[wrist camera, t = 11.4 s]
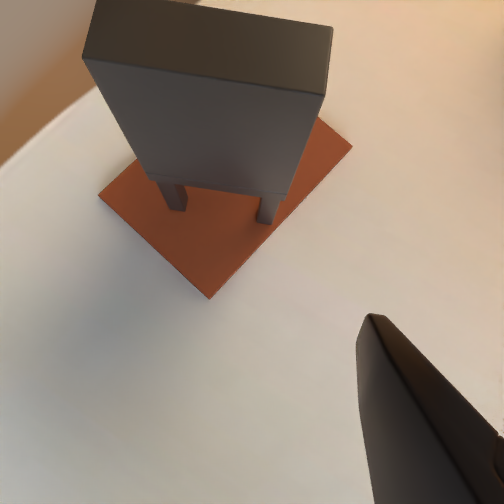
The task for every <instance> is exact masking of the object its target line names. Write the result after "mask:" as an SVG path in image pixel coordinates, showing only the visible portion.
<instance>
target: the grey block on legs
mask: <svg viewBox="0 0 504 504" xmlns="http://www.w3.org/2000/svg"><path fill="white" fill-rule="evenodd" d="M332 37H333V27H330V26H324V25H318V24H311V23H305V22H299V21H293V20H287V19H280V18H274V17H268V16H262V15H256V14H249V13H243V12H237V11H231V10H225V9H218V8H212V7H206V6H200V5H194V4H187V3H181V2H175V1H168V0H97V1H96V4H95V9H94V12H93V16H92V20H91V23H90V27H89V31H88V35H87V38H86V42H85V46H84V50H83V54H82V59H83V61H84V63H85V65H86V66H87V68H88V70H89V72H90V74H91V75H92V77H93V79H94V81H95V83H96V85H97V86H98V88H99V90H100V92H101V94H102V95H103V97H104V99H105V101H106V103H107V104H108V106H109V108H110V110H111V112H112V114H113V115H114V117H115V119H116V121H117V123H118V124H119V126H120V128H121V130H122V132H123V134H124V135H125V137H126V139H127V141H128V143H129V144H130V146H131V148H132V150H133V152H134V154H135V155H136V157H137V159H138V161H139V163H140V164H141V166H142V168H143V170H144V172H145V173H146V175H147V177H148V179H149V180H151V181H155V182H156V184H157V186H158V187H159V189H160V191H161V193H162V195H163V197H164V199H165V201H166V203H167V205H168V207H169V209H170V210H177V211H183V212H185V211H186V206H187V201H188V195H187V192H186V189H185V186H190V187H197V188H203V189H210V190H216V191H222V192H229V193H235V194H242V195H248V196H255V197H260V202H259V207H258V213H257V220H256V222H257V223H262V224H268V225H272V224H273V221H274V218H275V215H276V212H277V209H278V207H279V204H280V201H285V199H286V197H287V194H288V191H289V189H290V186H291V184H292V181H293V178H294V176H295V173H296V171H297V168H298V165H299V163H300V160H301V158H302V155H303V152H304V150H305V147H306V145H307V142H308V139H309V137H310V134H311V132H312V129H313V126H314V124H315V121H316V119H317V116H318V113H319V111H320V108H321V106H322V103H323V100H324V98H325V95H326V87H327V78H328V70H329V62H330V54H331V46H332Z"/></svg>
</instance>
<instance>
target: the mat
mask: <svg viewBox="0 0 504 504" xmlns="http://www.w3.org/2000/svg"><path fill="white" fill-rule="evenodd" d="M351 148H352V145H351V144H350V143H348V142H347V141H346V140H345V139H344V138H342V137H341V136H340V135H339V134H338V133H336V132H335V131H334V130H333V129H332V128H330V127H329V126H328V125H327V124H326V123H325V122H323V121H322V120H321V119H320V118H319V117H317V119H316V121H315V124H314V126H313V129H312V132H311V134H310V137H309V139H308V142H307V145H306V147H305V150H304V152H303V155H302V158H301V160H300V163H299V165H298V168H297V171H296V173H295V176H294V178H293V181H292V184H291V186H290V189H289V191H288V194H287V197H286V199H285V201H280V204H279V207H278V209H277V212H276V215H275V218H274V221H273V224H272V225H268V224H262V223H257V222H256V220H257V213H258V207H259V202H260V197H255V196H248V195H242V194H235V193H229V192H222V191H216V190H210V189H203V188H197V187H190V186H185V189H186V192H187V195H188V201H187V206H186V211H185V212H183V211H177V210H170V209H169V207H168V205H167V203H166V201H165V199H164V197H163V195H162V193H161V191H160V189H159V187H158V186H157V184H156V182H155V181H151V180H149V179H148V177H147V175H146V173H145V172H144V170H143V168H142V166H141V164H140V163H139V161H138V159H136V160H135V161H134V162H133V163H132V164H130V165H129V166H128V167H127V168H126V169H125V170H124V171H123V172H122V173H121V174H120V175H119V176H118V177H117V178H115V179H114V180H113V181H112V182H111V183H110V184H109V185H108V186H107V187H106V188H105V189H104V190H103V191H102V192H101V193H99V194H98V196H99V197H100V198H101V199H102V200H103V201H104V202H105V203H107V204H108V205H109V206H110V207H111V208H112V209H113V210H114V211H115V212H116V213H117V214H118V215H119V216H120V217H122V218H123V219H124V220H125V221H126V222H127V223H128V224H129V225H130V226H131V227H132V228H133V229H134V230H135V231H137V232H138V233H139V234H140V235H141V236H142V237H143V238H144V239H145V240H146V241H147V242H148V243H149V244H150V245H151V246H153V247H154V248H155V249H156V250H157V251H158V252H159V253H160V254H161V255H162V256H163V257H164V258H165V259H166V260H168V261H169V262H170V263H171V264H172V265H173V266H174V267H175V268H176V269H177V270H178V271H179V272H180V273H181V274H183V275H184V276H185V277H186V278H187V279H188V280H189V281H190V282H191V283H192V284H193V285H194V286H195V287H196V288H197V289H199V290H200V291H201V292H202V293H203V294H204V295H205V296H206V297H207V298H208V299H211V297H212V296H213V295H214V294H215V293H216V292H217V291H218V290H219V289H220V288H221V287H222V286H223V285H224V284H225V283H226V281H227V280H228V279H229V278H230V277H231V276H232V275H233V274H234V273H235V272H236V271H237V270H238V269H239V268H240V267H241V265H242V264H243V263H244V262H245V261H246V260H247V259H248V258H249V257H250V256H251V255H252V254H253V253H254V252H255V251H256V249H257V248H258V247H259V246H260V245H261V244H262V243H263V242H264V241H265V240H266V239H267V238H268V237H269V236H270V235H271V233H272V232H273V231H274V230H275V229H276V228H277V227H278V226H279V225H280V224H281V223H282V222H283V221H284V220H285V219H286V217H287V216H288V215H289V214H290V213H291V212H292V211H293V210H294V209H295V208H296V207H297V206H298V205H299V204H300V203H301V201H302V200H303V199H304V198H305V197H306V196H307V195H308V194H309V193H310V192H311V191H312V190H313V189H314V188H315V187H316V185H317V184H318V183H319V182H320V181H321V180H322V179H323V178H324V177H325V176H326V175H327V174H328V173H329V172H330V171H331V169H332V168H333V167H334V166H335V165H336V164H337V163H338V162H339V161H340V160H341V159H342V158H343V157H344V156H345V155H346V153H347V152H348V151H349V150H350V149H351Z"/></svg>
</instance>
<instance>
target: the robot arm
mask: <svg viewBox="0 0 504 504" xmlns="http://www.w3.org/2000/svg"><path fill="white" fill-rule="evenodd" d="M356 364H357V384H358V403H359V412H360V419H361V425H362V431H363V437H364V443H365V449H366V455H367V461H368V467H369V473H370V479H371V485H372V491H373V497H374V503H375V504H504V438H503V437H502V436H498V432H497V431H496V430H495V429H494V428H493V427H492V426H491V425H490V424H489V423H488V422H487V421H486V420H485V418H484V417H483V416H482V415H481V414H480V413H479V412H478V411H477V410H476V409H475V408H474V407H473V406H472V405H471V404H470V403H469V402H468V401H467V400H466V399H465V398H464V397H463V396H462V395H461V394H460V392H459V391H458V390H457V389H456V388H455V387H454V386H453V385H452V384H451V383H450V382H449V381H448V380H447V379H446V378H445V377H444V376H443V375H442V374H441V373H440V372H439V371H438V370H437V369H436V368H435V366H434V365H433V364H432V363H431V362H430V361H429V360H428V359H427V358H426V357H425V356H424V355H423V354H422V353H421V352H420V351H419V350H418V349H417V348H416V347H415V346H414V345H413V344H412V343H411V342H410V341H409V339H408V338H407V337H406V336H405V335H404V334H403V333H402V332H401V331H400V330H399V329H398V328H397V327H396V326H395V325H394V324H393V323H392V322H391V321H390V320H389V319H388V318H387V317H386V316H384V315H379V314H372V313H369V314H367V315H366V317H365V319H364V321H363V324H362V326H361V329H360V332H359V334H358V337H357V341H356Z"/></svg>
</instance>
